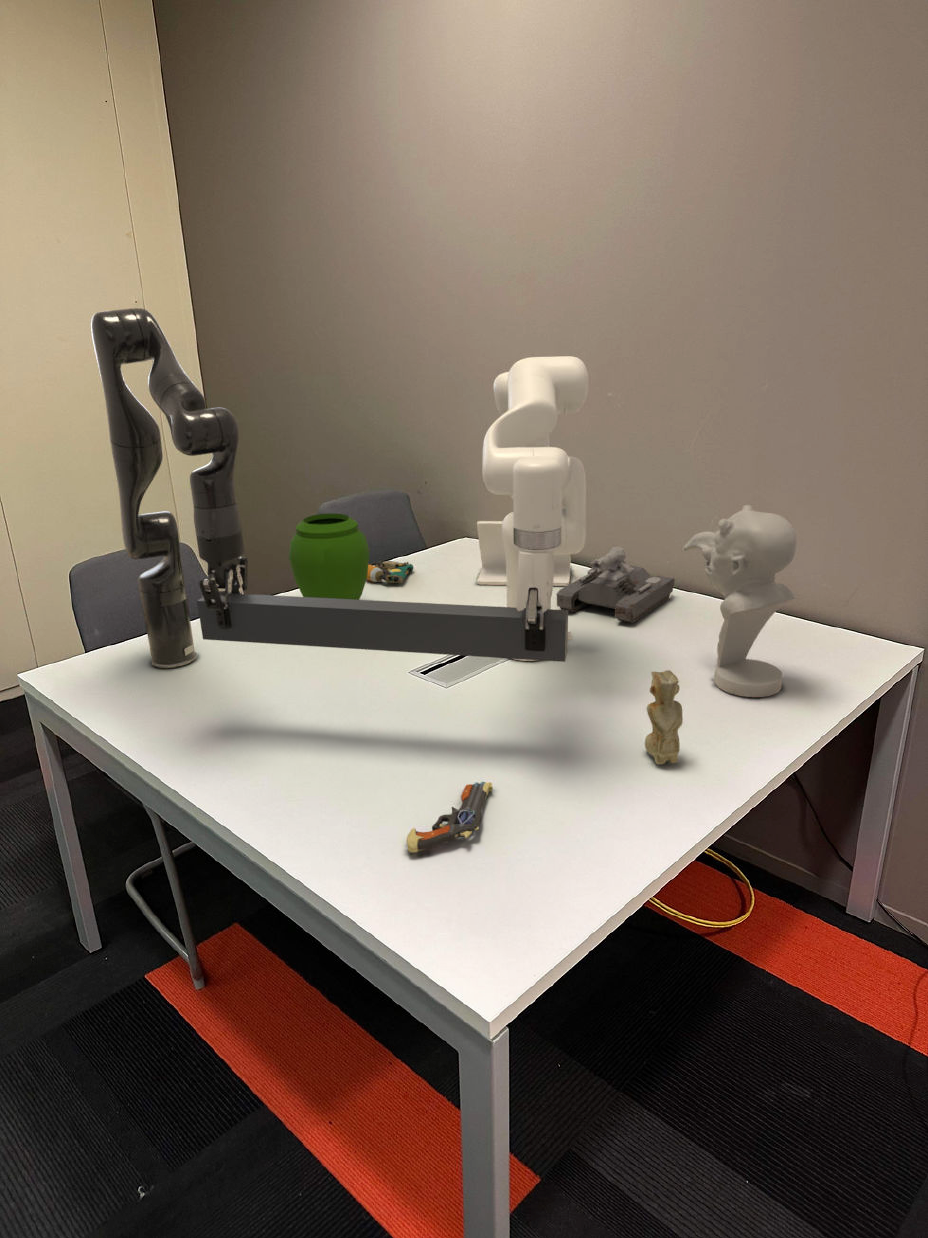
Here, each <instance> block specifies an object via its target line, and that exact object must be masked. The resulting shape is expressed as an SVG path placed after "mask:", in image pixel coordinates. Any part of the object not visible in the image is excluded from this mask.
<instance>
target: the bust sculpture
mask: <svg viewBox="0 0 928 1238" xmlns="http://www.w3.org/2000/svg"><path fill="white" fill-rule="evenodd" d="M697 549H698V550H701V551H702V556H703V558H704V559H705V561H706V562H705V563H704V571H705V573H706V576H707V578H708V580H709V581H710V584H711V585H712V587H713V588H714V589H716V590H717V591H718V592H719V593H720V594H721V595H722V596H724V599H723V600H722V602H721V603H720V605H719V606H720V607H719V609H720V613H721V617H722V619H723V622H722V624H721V627H720V631H719V634H718V642H717V648H716V652H717V653H716V654H717V657H716V659H717V660H716V666H715V667H714V678H713V679H714V680H713V682H714V684H715V686H717V687H718V688H719V689H720V690H722V691H723V692H726V693H728V694H732V695H735V696H740V697H745V698H746V697H747V698H765V697H770V696H774V695H776V694H777V693H779V692H780V691H781V689H782V684H783V676H784V675H783V672H782V671H781V669H779V668H778V667H777V666H775V665H773V664H771V663H768V662H766V661H762V660H758V659H752V658H748V655H749V652H750V650H751V648H752V647H753V645H754V642H755V641H756V640H757V637H758V636H759V634H760V633H761V631H762V630H763V628H764V627H765V626H766V624H767V623H768V621H769V620H770V619H771V617H772V616H773V615H774V614H775V613H776V612H777V611H779V609H780V608H781V607H783V606H784V605H785V604H787V603H788V602H790V601H791V600H794V599H796V596H795V594H794V593H793V591H792V590H791V589H790V588H789V586H788V585H785V584H783V583H779V582H776V574H778V573H780V572H782V571H784V570H785V569H786V568H787V567H788V566H789V565H790V564H791V563H792V561H793V560H794V557H795V554H796V551H797V550H796V549H797V534H796V531H795V529H794V527H793V525H792V524H791V523H790V522H789V521H788V520H787V519H786V518H785V517H783V516H781V515H779V514H777V513H771V512H763V511H761V512H760V511H755V510H754V508H753V507H752V506H751V504H745V505H743V507H742V509H741V510H739V511H737V512H735V513H734V514H733V515H731V516H730V517H729V518H727V519H726V518H721V519H720V520H719V521H718V528H717V530H716V532H713V531H701V532H698V533H696V534H695V535H693V536H692V537H691V538H690V539H689V541H688V542H687V543H686V544H684V546H683V547H682V550H683V552H687V551H692V550H697Z"/></svg>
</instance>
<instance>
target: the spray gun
mask: <svg viewBox="0 0 928 1238" xmlns="http://www.w3.org/2000/svg"><path fill="white" fill-rule="evenodd" d="M413 570H414V565H413V564H412V563H409V561H406V562H398V561H393V560H386V561H385V560H384V561H383V560H382V561H381V560H379V561H375V562H374V564H373V565H372V564H368V573H367V578H366V581H370V582H373V583H379V582H381V581H382V580H383V581H385V582H387V583H391V584H393V583H394V584H402V583H403V582H404V581H405V579H406V578H407V575H408V574H409V573H412V572H413Z"/></svg>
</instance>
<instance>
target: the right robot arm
mask: <svg viewBox="0 0 928 1238" xmlns="http://www.w3.org/2000/svg"><path fill="white" fill-rule="evenodd" d="M589 384H590V380H589V372H588V369H587V367H586V364H585V363H584V362H583V360H582V359H581V358H579V357H576V356H573V355H561V356H559V355H558V356H533V357H530V356H529V357H524V358H522V359H519V360H518V361H516V362H515V363H513V364H512V366H511V367H510V369H509V371H506V372H503V373H502V372H501V373H500V374H498V375H497V376H496V377H495V378H494V381H493V387H492V388H493V397H494V402H495V406H496V409H497V412H498V414H499V417H498V418H497V419H496V420H495V421H494V422H493V423H492V424H491V425H490V427H488V429H487V431H486V432H485V433H486V434H485V436H484V438H483V442H482V458H481V459H482V461H481V464H482V465H481V473H482V482H483V483H484V487H485V488H486V490H487V491H488V492H489V493H491V494H493V495H496V496H510V498H511V499H512V501H513V502H512V503H513V505H512V506H513V507H512V509H513V511H511V512H509V513H508V514H506V515H505V517H504V518H503V520H502V521H503V522H502V537H503V544H504V550H505V558H506V576H507V585H506V607H513V608H517V610H518V611H521V610H524V608H526V626H525V650H527V651H544V650H545V627H543V624H544V612H545V611H546V610H547V609H551V608H552V597H553V591H554V590H553V588H554V586H553V577H554V555H565V554H570V555H576V554H579V553H580V552H582V550H583V549H584V547H585V545H586V539H587V476H586V469H585V466H584V463H583V462H582V460H581V459H580V458H578V457H575V456H569V455H568V453H567V452H566V451H565V450H564V449H562V448H560V447H555V446H550V434H551V433H552V432H553V430H554V429H555V427H556V425H557V423H558V415H574V414H577V413H579V411H580V410H581V409H582V408H583V406H584V404H585V402H586V400H587V397H588V393H589V389H590V388H589V387H590V385H589ZM537 614H540V619H539V617H537ZM539 620H540V621H539ZM572 640H573V633H572V632H571V631H568V641H569V642H570V641H572ZM515 660H516V661H522V662H535V661H536V662H537V661H538V660H526V659H514V661H515Z"/></svg>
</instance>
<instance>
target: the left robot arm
mask: <svg viewBox="0 0 928 1238" xmlns="http://www.w3.org/2000/svg"><path fill="white" fill-rule="evenodd" d="M90 328H91V329H90V330H91V337H92V338H91V339H92V343H93V348H94V353H95V357H96V362H97V367H98V371H99V375H100V380H101V384H102V389H103V394H104V401H105V409H106V416H107V423H108V432H109V433H108V434H109V442H110V448H111V456H112V459H113V465H114V466H113V467H114V471H115V477H116V481H117V489H118V496H119V508H120V520H121V531H122V541H123V545H124V548H125V551H126V553H127V555H128V557H129V558H131V559H133V560H144V559H151V558H159V557H163V558H162V559H161V561H160V562H159V563H157V564H156V565H154V566H153V567H152V568H151V567H150V568H149V569H148V570H146V571H144V572H142V573H141V574H140V575H139V576H138V578H137V579H138V580H137V582H138V588H139V593H140V594H139V595H140V600H141V606H142V611H143V617H144V624H145V628H146V634H147V641H148V647H149V651H150V652H149V653H150V659H151V660H150V661H151V665H152V666H153V667H156V668H160V669H173V668H180V667H183V666H186V665H189V664H192V663H193V662H194V661H195V660H196V659H197V654H196V651H195V644H194V636H193V630H192V623H191V616H190V610H189V602H188V597H187V591H186V584H185V578H184V572H183V564H182V557H181V547H180V534H179V528H178V523H177V520H176V518H175V516H174V514H173V513H172V512H170V511H166V510H165V511H155V512H148V513H147V512H146V513H140V508H141V503H142V501H143V498H144V495H145V494H146V492H147V491H148V488H149V487H150V485H151V484H152V482H153V480H154V479H155V477H156V476H157V474H158V472H159V470H160V469H161V466H162V463H163V457H164V455H163V445H162V437H161V429H160V426H159V424H158V422H157V421H156V419H155V417H154V416H153V415H152V414H151V413H150V411H149V410H148V409H147V408H146V407H145V406H144V405H143V404H142V403H141V402H140V401H139V399H138V398H137V397H136V396H135V395H134V394H133V392H132V391H131V389H130V388H129V386H128V385H127V383H126V382H125V378H124V375H123V372H122V365H128V364H136V363H143V362H144V363H145V362H147V361H148V362H149V361H152V365H151V368H150V371H149V374H148V380H147V386H148V390H149V391H148V392H149V393H150V396H151V398H152V400H153V401H154V403H156V405H157V406H158V408H159V409H160V410H161V412H162V413H163V414H164V416H165V417H166V420H167V423H168V426H169V430H170V435H171V439H172V443H173V445H174V447H175V448H176V450H177V451H179V453H182V454H183V455H186V456H190V457H195V456H201V455H202V456H203V455H209V454H212V457H211V460H210V462H209V463H207V464H206V465H204V466H201V467H199V468H197V469H195V470H193V471H192V472H191V473H190V475H189V486H190V491H191V499H192V504H193V524H194V529H195V536H196V542H197V550H198V556H199V558H200V560H202V561H204V562H205V563H207V574H206V575H207V577H206V578H205V579H200V580H199V581H198V585H199V589H200V591H201V594H202V597H204V600H205V603H206V606H207V609H215V610H216V616H217V623H218V627H219V628H220V629H229V628H231V620H230V613H229V608H228V606H229V596H230V595H231V593H234V594H245V593H244V592H246V591H247V590H248V586H249V585H248V584H249V583H248V582H249V581H248V580H249V577H248V576H249V560H248V557H245V556H243V555H244V554H245V545H244V537H243V529H242V522H241V521H242V520H241V515H240V511H239V507H238V502H237V494H236V487H235V468H236V459H237V453H238V446H239V439H240V428H239V424H238V421H237V419H236V416H235V415H234V414H233V413H232V412H231V410H229V409H227V408H225V407H211V408H207V402H206V398H205V397H204V395H203V394H202V392H201V391H200V389H199V387H197V386H196V384H195V383H194V382H193V381H192V379H191V378H190V377H189V375H187V373H186V372H185V370H184V369H183V367H182V366H181V364H180V362H179V361H178V359H177V357H176V354H175V353H174V350H173V348H172V347H171V345H170V342H169V341H168V339H167V337H166V335H165V333H164V331H163V329H162V327H161V325H160V323H159V322H158V321H157V319H156V317H154V315H153V314H152V313H151V312H150V311H149V310H147V309H145V308H139V307H137V308H136V307H132V308H123V309H113V310H104V311H98V312H96V313H94V314H93V315H92V318H91V322H90ZM219 589H220V590H219ZM221 589H222V590H221ZM221 596H223V602H222V599H221ZM211 599H212V601H211Z"/></svg>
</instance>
